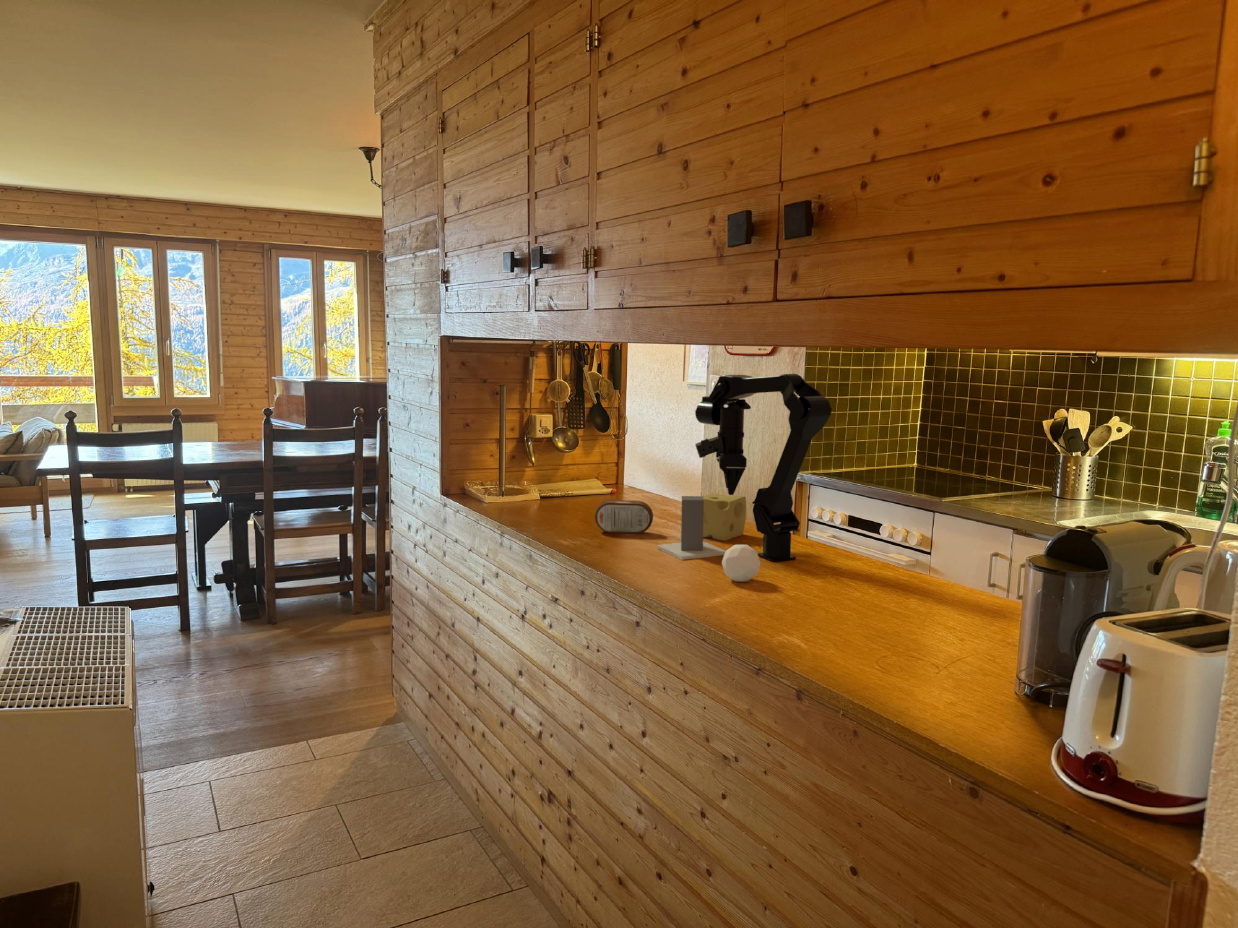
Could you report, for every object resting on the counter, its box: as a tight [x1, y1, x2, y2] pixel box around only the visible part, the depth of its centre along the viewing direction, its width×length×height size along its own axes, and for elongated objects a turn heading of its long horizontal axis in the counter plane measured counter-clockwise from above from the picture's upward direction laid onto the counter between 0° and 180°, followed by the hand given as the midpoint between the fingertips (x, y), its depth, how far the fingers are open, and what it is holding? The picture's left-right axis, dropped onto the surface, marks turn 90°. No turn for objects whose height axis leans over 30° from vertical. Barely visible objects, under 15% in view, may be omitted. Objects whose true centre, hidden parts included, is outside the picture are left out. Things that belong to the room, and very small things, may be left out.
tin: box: [594, 499, 654, 535], centre depth 225 cm, size 15×3×8 cm, turn 84°
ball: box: [721, 544, 761, 583], centre depth 180 cm, size 8×8×8 cm
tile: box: [656, 541, 726, 561], centre depth 205 cm, size 12×12×1 cm
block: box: [680, 495, 704, 551], centre depth 204 cm, size 5×5×12 cm
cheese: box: [702, 493, 747, 542], centre depth 222 cm, size 10×11×10 cm
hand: (729, 491), depth 211 cm, fingers open, 9 cm apart
